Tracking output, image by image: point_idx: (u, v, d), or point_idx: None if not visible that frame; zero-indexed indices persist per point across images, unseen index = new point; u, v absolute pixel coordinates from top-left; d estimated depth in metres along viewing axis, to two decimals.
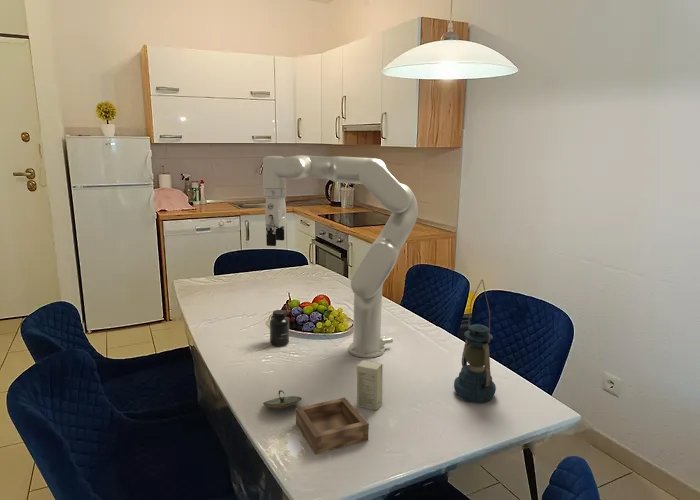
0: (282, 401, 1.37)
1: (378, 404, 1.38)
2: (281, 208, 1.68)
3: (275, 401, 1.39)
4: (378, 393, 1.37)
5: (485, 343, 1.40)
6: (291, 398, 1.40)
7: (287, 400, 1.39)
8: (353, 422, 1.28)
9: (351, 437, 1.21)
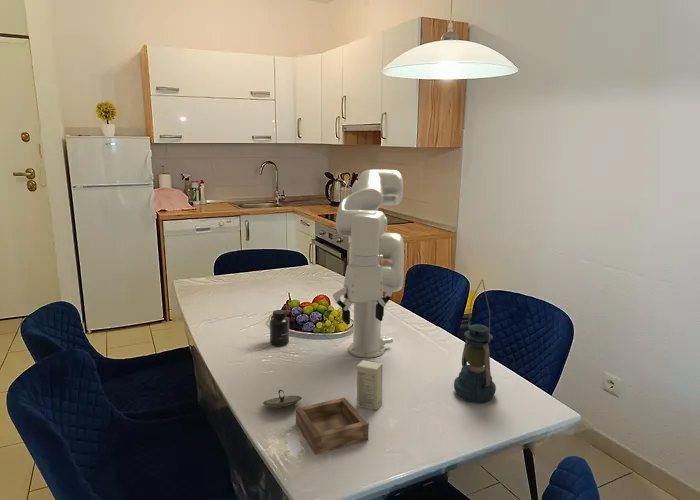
0: (282, 400, 1.37)
1: (378, 404, 1.38)
2: None
3: (275, 400, 1.40)
4: (378, 393, 1.37)
5: (485, 343, 1.40)
6: (291, 397, 1.41)
7: (287, 399, 1.40)
8: (353, 422, 1.28)
9: (351, 437, 1.21)
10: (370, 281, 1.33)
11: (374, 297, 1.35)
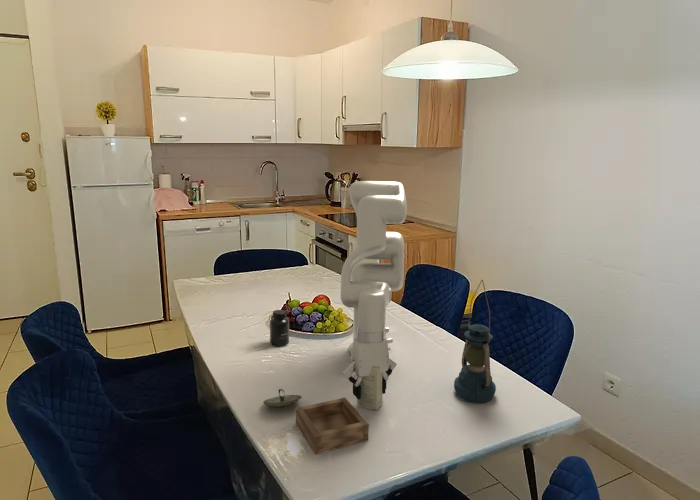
0: (282, 400, 1.38)
1: (378, 404, 1.38)
2: None
3: (275, 400, 1.40)
4: (378, 393, 1.37)
5: (485, 343, 1.40)
6: (291, 397, 1.41)
7: (287, 399, 1.40)
8: (353, 422, 1.28)
9: (351, 437, 1.21)
10: (377, 355, 1.35)
11: (381, 370, 1.37)
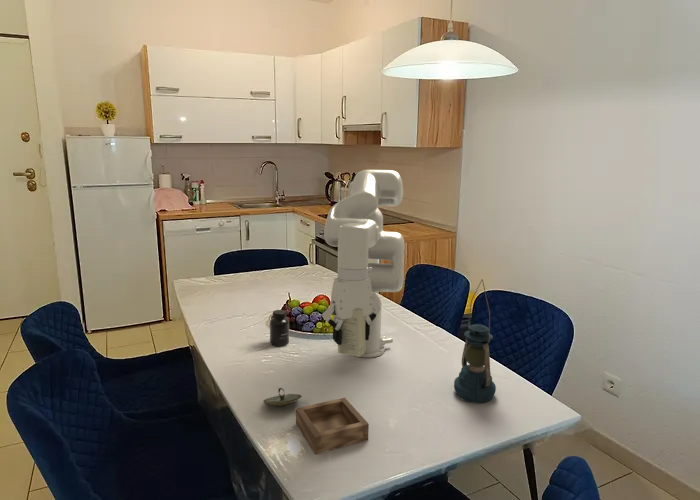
0: (282, 399, 1.38)
1: (361, 350, 1.27)
2: None
3: (275, 399, 1.41)
4: (361, 338, 1.26)
5: (485, 343, 1.40)
6: (291, 396, 1.41)
7: (287, 398, 1.41)
8: (353, 422, 1.28)
9: (351, 437, 1.21)
10: (359, 296, 1.24)
11: (364, 313, 1.26)
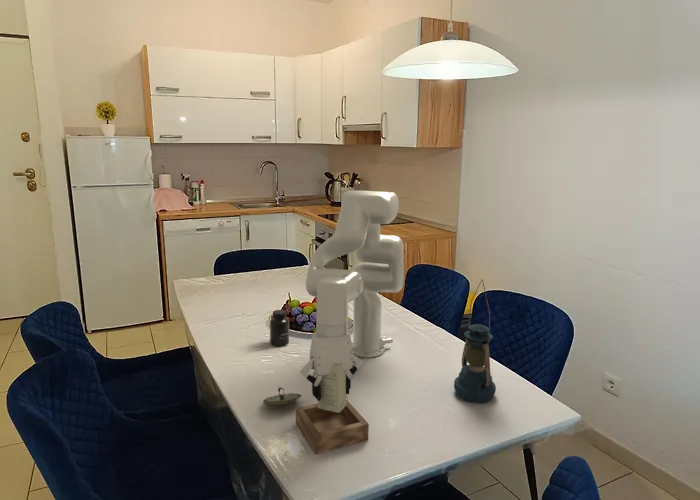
0: (282, 398, 1.39)
1: (341, 406, 1.23)
2: None
3: (275, 398, 1.41)
4: (340, 394, 1.22)
5: (485, 343, 1.40)
6: (291, 395, 1.42)
7: (287, 397, 1.41)
8: (353, 422, 1.28)
9: (351, 437, 1.21)
10: (339, 351, 1.20)
11: (344, 368, 1.22)
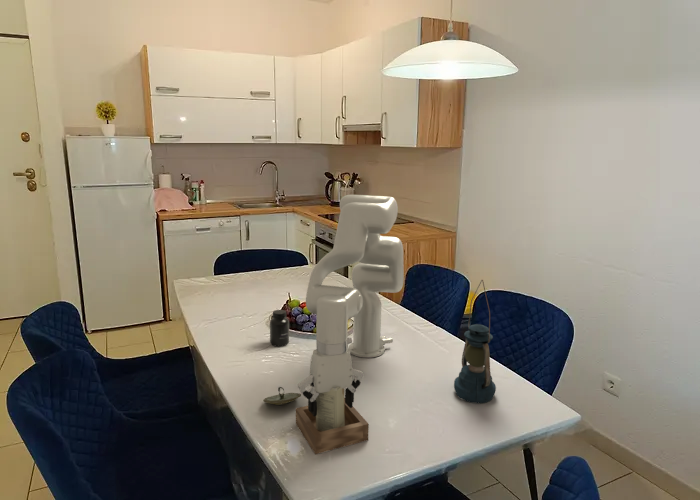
0: (282, 398, 1.39)
1: None
2: None
3: (275, 398, 1.41)
4: (339, 416, 1.24)
5: (485, 343, 1.40)
6: (290, 395, 1.42)
7: (287, 397, 1.41)
8: (353, 422, 1.28)
9: (351, 437, 1.21)
10: (338, 369, 1.21)
11: (343, 385, 1.23)
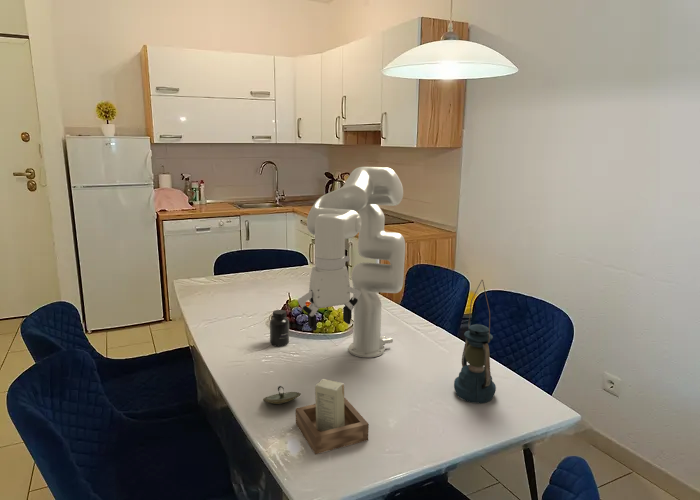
0: (282, 397, 1.39)
1: None
2: None
3: (274, 397, 1.42)
4: (339, 416, 1.24)
5: (485, 343, 1.40)
6: (290, 394, 1.43)
7: (286, 396, 1.42)
8: (353, 422, 1.28)
9: (351, 437, 1.21)
10: (337, 284, 1.27)
11: (341, 301, 1.29)
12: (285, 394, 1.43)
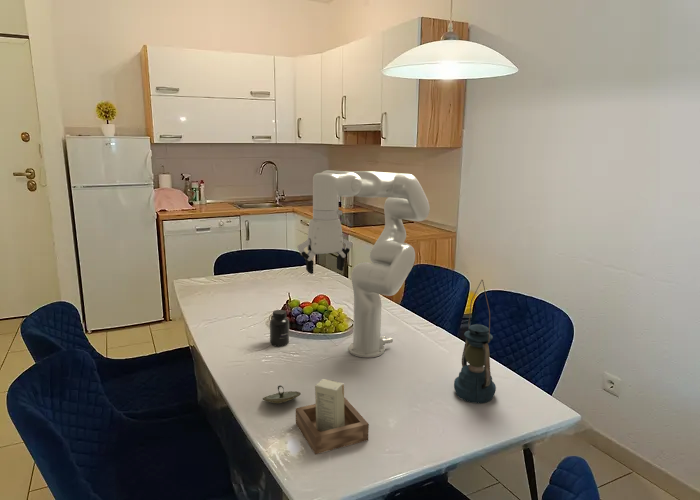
0: (281, 396, 1.40)
1: None
2: None
3: (274, 396, 1.42)
4: (339, 416, 1.24)
5: (485, 343, 1.40)
6: (290, 393, 1.43)
7: (286, 395, 1.42)
8: (353, 422, 1.28)
9: (351, 437, 1.21)
10: (331, 234, 1.47)
11: (335, 249, 1.49)
12: (285, 393, 1.44)
